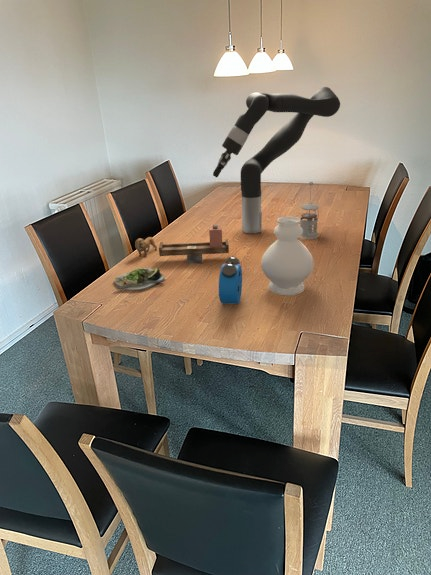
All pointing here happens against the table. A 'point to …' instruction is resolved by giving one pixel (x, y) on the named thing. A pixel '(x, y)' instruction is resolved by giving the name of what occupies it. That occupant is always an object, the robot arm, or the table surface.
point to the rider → (215, 236)
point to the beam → (192, 250)
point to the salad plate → (139, 279)
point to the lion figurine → (144, 245)
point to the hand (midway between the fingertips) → (214, 175)
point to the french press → (309, 220)
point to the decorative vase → (287, 259)
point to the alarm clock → (230, 281)
